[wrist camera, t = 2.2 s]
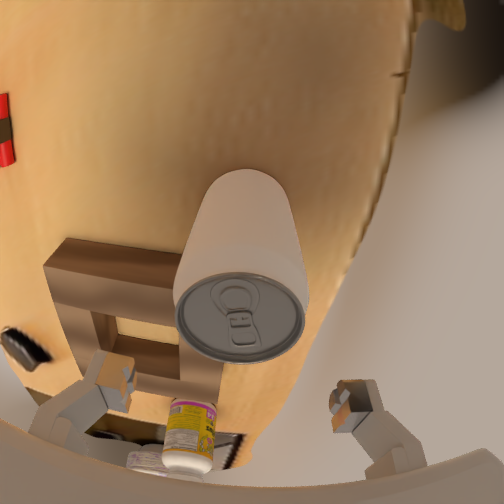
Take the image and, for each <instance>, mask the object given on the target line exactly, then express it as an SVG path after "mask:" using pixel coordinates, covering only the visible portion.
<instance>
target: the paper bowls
mask: <svg viewBox="0 0 504 504" xmlns="http://www.w3.org/2000/svg"><path fill="white" fill-rule="evenodd" d="M163 447H164V445H161V444H147V445H144V446H142V447H141V448H140V450H139V451H134V452H130V453H129V456H128V461H127V467H126V468H127V469H131V470H135V471H139V472H144V473H148V474H153V475H158V476H163V477H166V476H167V475H168V473H169V468H167V467H166V466H165V465H164V464H163V462H162V452H163Z"/></svg>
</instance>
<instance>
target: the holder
mask: <svg viewBox="0 0 504 504" xmlns="http://www.w3.org/2000/svg"><path fill="white" fill-rule="evenodd" d="M181 258H182V255H180V254H173V253H166V252H159V251H152V250H145V249H138V248H131V247H124V246H118V245H111V244H104V243H98V242H91V241H84V240H78V239H71V238H66V239H65V240H64V242H63V243H62V244H61V245H60V246H59V247H58V248H57V249H56V251H55V252H54V253H53V254H52V255H51V256H50V258H49V259H48V260H47V261H46V262H45V264H44V265H43V269H44V272H45V276H46V279H47V283H48V286H49V290H50V293H51V296H52V299H53V302H54V305H55V308H56V311H57V314H58V317H59V320H60V323H61V325H62V328H63V331H64V333H65V336H66V339H67V341H68V344H69V346H70V349H71V351H72V353H73V356H74V358H75V360H76V363H77V365H78V367H79V370H80V372H81V374H82V376H83V377H84V376H85V373H86V371H87V369H88V366H89V364H90V362H91V360H92V357H93V355H94V353H95V351H96V350H97V349H99V350H104V351H108V352H111V353H115V354H119V355H123V356H128V357H132V358H134V362H135V364H134V368H135V369H136V372H137V382H136V387H135V390H137V391H142V392H146V393H151V394H156V395H162V396H167V397H173V398H179V399H185V400H192V401H198V402H206V403H214V404H217V403H218V396H219V390H220V383H221V377H222V371H223V364H224V362H220V361H216V360H213V359H210V358H208V357H206V356H204V355H202V354H200V353H198V352H197V351H195V350H194V349H192V348H191V347H190V346H189V345H188V344H187V343H186V342H185V341H184V340H183V339H182V337H181V336H180V334H179V346H178V345H172V344H166V343H160V342H155V341H149V340H144V339H139V338H134V337H129V336H124V335H119V334H118V331H117V326H116V321H115V316H117V317H122V318H127V319H132V320H137V321H142V322H148V323H153V324H159V325H165V326H171V327H176V324H175V317H174V315H175V305H174V300H173V286H174V280H175V276H176V273H177V270H178V267H179V264H180V261H181Z"/></svg>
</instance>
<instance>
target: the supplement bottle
mask: <svg viewBox="0 0 504 504" xmlns="http://www.w3.org/2000/svg"><path fill="white" fill-rule="evenodd" d="M215 426H216V408H215V407H214V406H213V405H212V404H211V403H206V402H198V401H192V400H185V399H179V398H177V399H175V400H174V401H173V402H172V404H171V407H170V412H169V418H168V423H167V429H166V435H165V441H164V447H163V452H162V462H163V464H164V465H165V466H166V467H167V468H169V473H168V475H167V476H166V477H168V478H174V479H180V480H186V481H193V482H201V483H203V482H204V481H203V478H202V474H204V473H207V472H208V471H210V470H211V468H212V463H213V450H214V438H215Z"/></svg>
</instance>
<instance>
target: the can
mask: <svg viewBox="0 0 504 504" xmlns="http://www.w3.org/2000/svg"><path fill="white" fill-rule="evenodd" d="M173 300H174V305H175V315H174V317H175V324H176V328H177V330H178V332H179V334H180V336H181V337H182V339H183V340H184V341H185V342H186V343H187V344H188V345H189V346H190V347H191V348H192V349H194V350H195V351H197V352H198V353H200V354H202V355H204V356H206V357H208V358H210V359H213V360H216V361H220V362H224V363H229V364H255V363H261V362H265V361H268V360H271V359H274V358H276V357H278V356H280V355H282V354H284V353H285V352H287V351H288V350H289V349H291V348H292V347H293V346H294V345H295V344H296V342H297V341H298V340H299V338H300V337H301V335H302V333H303V330H304V326H305V313H306V311H307V307H308V303H309V286H308V281H307V275H306V271H305V266H304V261H303V257H302V253H301V248H300V244H299V240H298V236H297V232H296V228H295V224H294V220H293V216H292V212H291V208H290V205H289V201H288V198H287V195H286V193H285V191H284V190H283V188H282V187H281V185H280V184H279V183H278V182H277V181H276V180H275V179H274V178H272V177H271V176H269V175H267V174H265V173H263V172H260V171H257V170H253V169H240V170H235V171H232V172H229V173H226V174H224V175H222V176H220V177H219V178H218V179H216V180H215V181H214V182H213V183H212V184H211V186H210V187H209V189H208V190H207V192H206V194H205V196H204V199H203V201H202V203H201V206H200V208H199V211H198V214H197V216H196V219H195V221H194V224H193V227H192V230H191V232H190V235H189V238H188V241H187V243H186V246H185V249H184V252H183V255H182V258H181V261H180V264H179V267H178V270H177V273H176V276H175V280H174V286H173Z"/></svg>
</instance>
